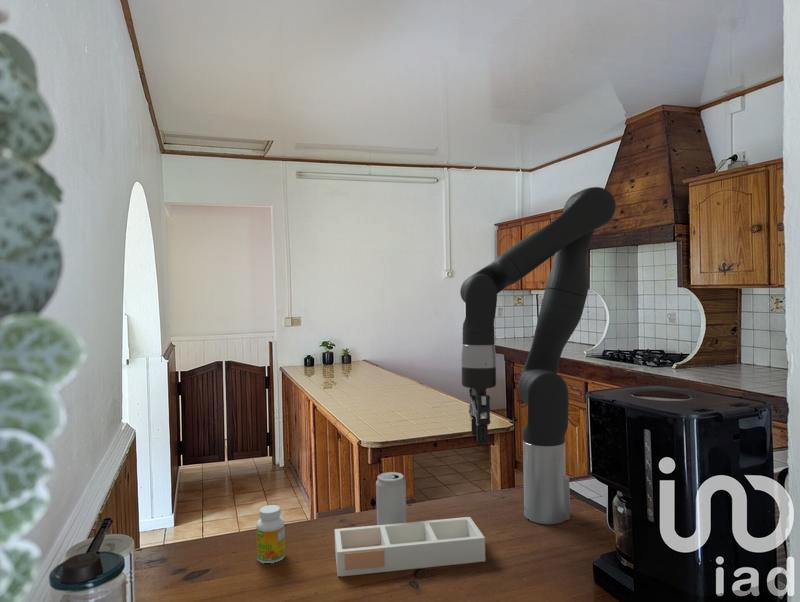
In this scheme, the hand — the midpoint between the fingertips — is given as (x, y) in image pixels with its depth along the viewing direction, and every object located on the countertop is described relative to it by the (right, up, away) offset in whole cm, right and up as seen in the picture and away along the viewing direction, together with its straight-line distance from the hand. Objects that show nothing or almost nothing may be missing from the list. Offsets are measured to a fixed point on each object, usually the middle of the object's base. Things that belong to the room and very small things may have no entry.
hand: (479, 439), depth 122 cm
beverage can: (-19, -20, -2) cm, 27 cm away
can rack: (-16, -20, -14) cm, 29 cm away
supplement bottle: (-43, -20, -13) cm, 49 cm away
